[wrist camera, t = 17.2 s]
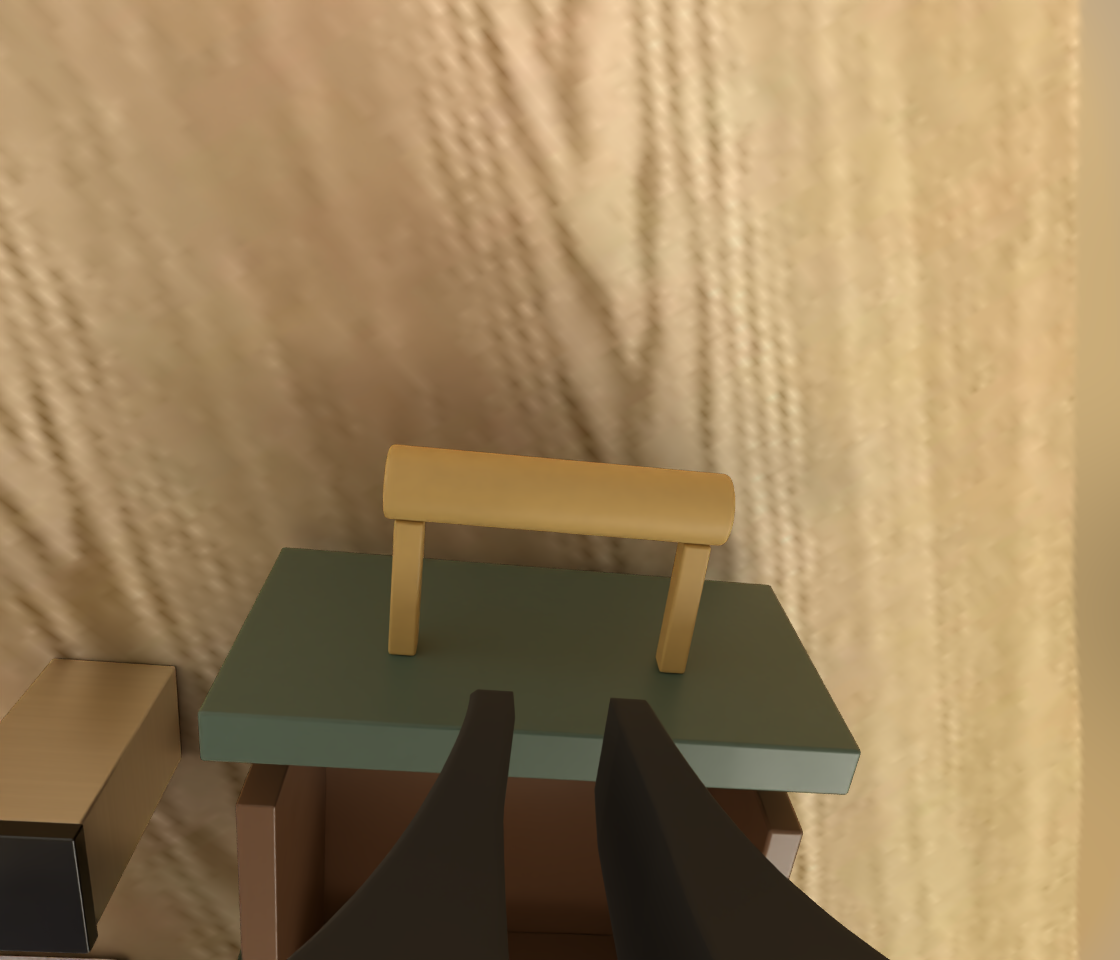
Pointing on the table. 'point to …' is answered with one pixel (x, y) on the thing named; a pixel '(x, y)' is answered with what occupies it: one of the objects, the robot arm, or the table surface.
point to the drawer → (506, 665)
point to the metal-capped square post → (79, 794)
